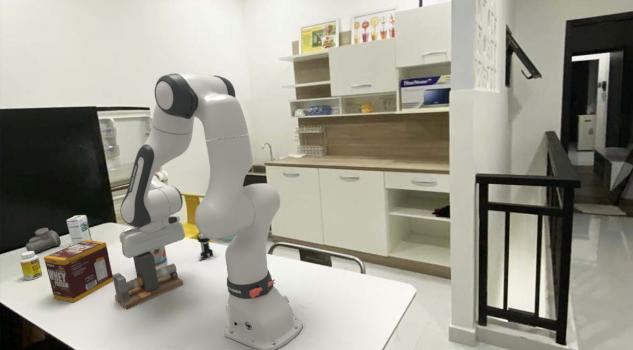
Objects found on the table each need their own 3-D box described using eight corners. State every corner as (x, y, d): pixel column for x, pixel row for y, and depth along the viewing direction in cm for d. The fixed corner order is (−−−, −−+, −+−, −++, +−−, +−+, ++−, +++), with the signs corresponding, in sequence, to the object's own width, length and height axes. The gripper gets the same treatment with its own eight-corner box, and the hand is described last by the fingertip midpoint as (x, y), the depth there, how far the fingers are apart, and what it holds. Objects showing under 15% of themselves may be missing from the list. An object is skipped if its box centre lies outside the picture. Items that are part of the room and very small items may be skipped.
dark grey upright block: (159, 287, 119) (153, 254, 117) (147, 292, 116) (140, 259, 114) (150, 281, 124) (144, 249, 121) (138, 285, 121) (132, 253, 118)
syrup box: (85, 248, 164) (78, 218, 161) (72, 248, 164) (65, 219, 161) (92, 243, 169) (86, 214, 166) (80, 243, 169) (74, 215, 166)
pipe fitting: (54, 242, 172) (48, 224, 168) (63, 246, 168) (57, 227, 165) (26, 255, 162) (19, 235, 159) (35, 259, 159) (28, 239, 155)
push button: (203, 262, 141) (200, 239, 138) (194, 259, 143) (191, 237, 141) (216, 255, 146) (213, 233, 144) (207, 253, 149) (204, 231, 147)
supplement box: (53, 298, 120) (42, 256, 117) (95, 277, 134) (86, 239, 131) (73, 303, 117) (63, 260, 113) (114, 280, 130) (106, 241, 127)
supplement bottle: (35, 280, 135) (29, 255, 133) (21, 281, 135) (14, 256, 133) (46, 273, 140) (40, 249, 138) (32, 274, 140) (25, 250, 138)
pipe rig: (183, 284, 124) (179, 259, 122) (126, 309, 111) (121, 282, 109) (170, 276, 131) (166, 252, 129) (115, 299, 117) (110, 273, 115)
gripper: (122, 233, 109) (130, 274, 112) (183, 215, 124) (189, 251, 127) (115, 229, 113) (122, 268, 116) (175, 212, 128) (181, 247, 131)
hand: (158, 259), depth 122 cm, fingers closed
